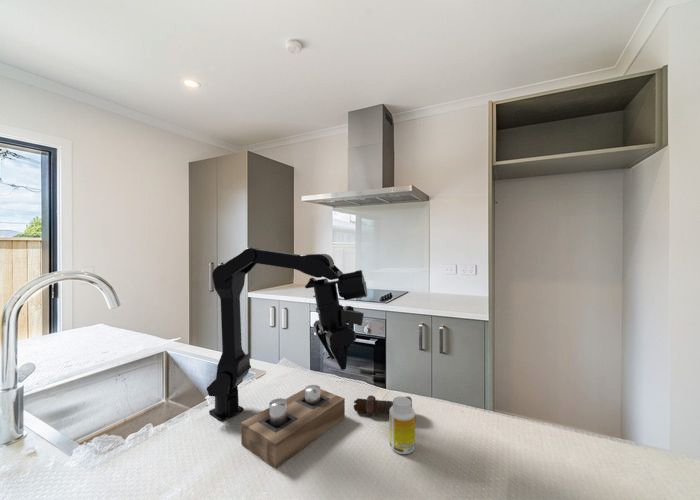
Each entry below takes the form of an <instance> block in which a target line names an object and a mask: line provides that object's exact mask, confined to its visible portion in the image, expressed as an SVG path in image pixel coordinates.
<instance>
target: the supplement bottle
mask: <svg viewBox="0 0 700 500" xmlns="http://www.w3.org/2000/svg"><path fill="white" fill-rule="evenodd" d="M407 397H408V396H407ZM407 397H406V396H402V395H400V396H396V397H394V398H393V399H392V402H393V406H392V407H391V408H390V411H389V416H388V417H389V422H388V423H389V445H390V448H391V449H392V450H393V451H394V452H395V453H397V454H400V455H408V454H411V453H413V451H415V449H416V413H415V409H414V408H413V406H412V407H411V400H410V399H409V398H407Z"/></svg>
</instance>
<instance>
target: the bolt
mask: <svg viewBox="0 0 700 500" xmlns="http://www.w3.org/2000/svg"><path fill="white" fill-rule="evenodd" d="M405 397H407V398H409V399H410V400H411V407H412V408H413V401H412V397H411V396H405ZM353 403H354V404H353V410H354V411H355V412H360V413H366V415H367V416H368V417H372V418H373V417H374V416H375V415H376V414H380V415H389V411H390V408H391V407H392V406H393V400H381V399H376V396H375V395H368V396H367V398H359V397H357V398H356V399H355V400H353Z"/></svg>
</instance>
